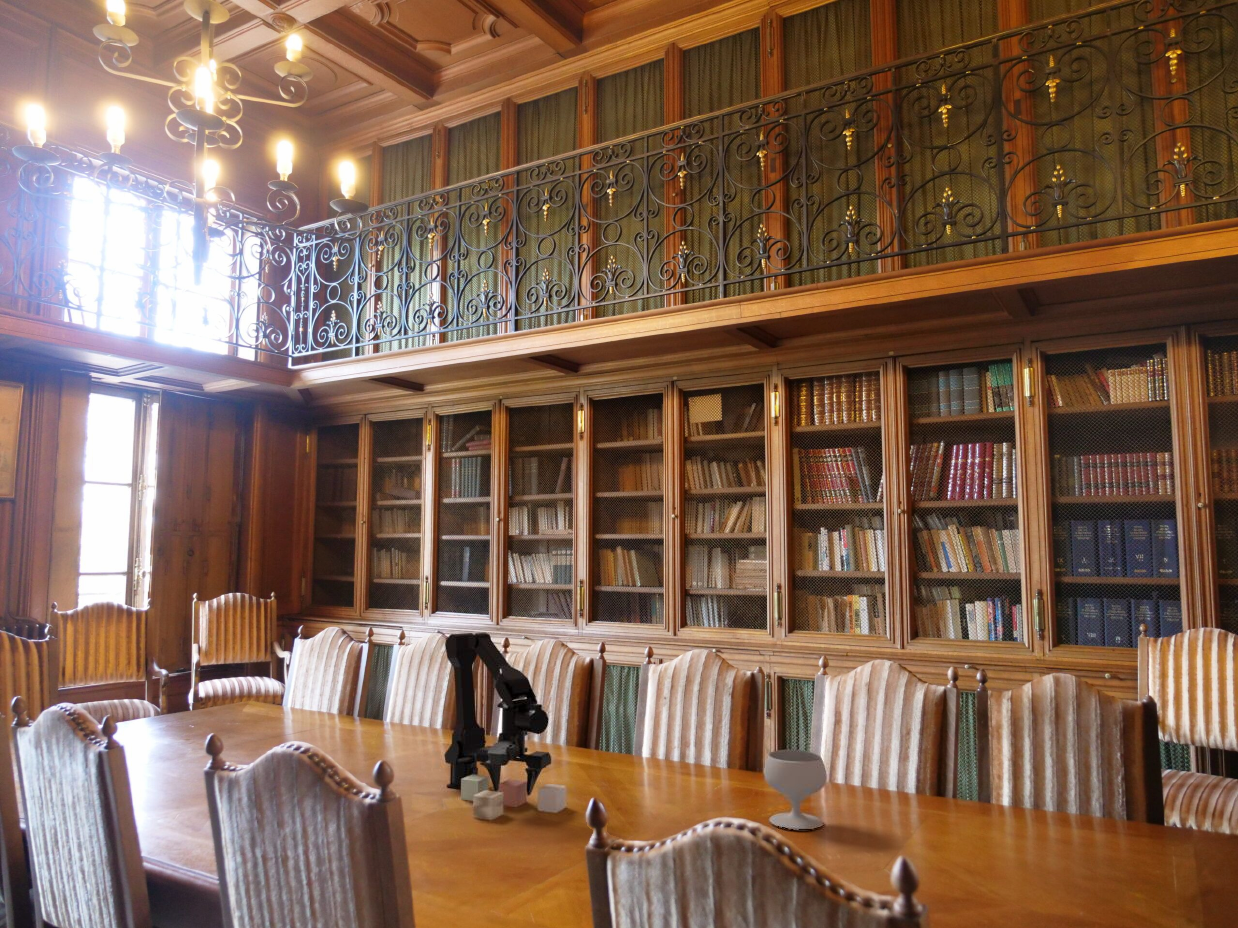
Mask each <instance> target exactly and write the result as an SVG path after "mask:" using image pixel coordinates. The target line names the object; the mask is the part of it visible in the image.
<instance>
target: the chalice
mask: <svg viewBox="0 0 1238 928" xmlns="http://www.w3.org/2000/svg"><path fill="white" fill-rule="evenodd" d="M763 772H764V780H765V782H766V783H767V785H768V786H769V787H770V788H772V789H773V790H775V792H777V793H779V794H780V795H782V796H784V797H785V798H787V800H788V801H789V802H790V805H791V811H790V812H780V813H776V814H774V815H771V817H769V819H768V821H769V823H770V822H771V823H770V824H772V826H775V827H778V826H779V827H778V828H780V829H783V828H782V827H785V828H788V829H787V830H791V829H793V830H792V831H800V830H799V829H810V828H815V827H818V826H821V825H822V824H823V823H824V821H823V820H822V819H821V818H820V817H818V816H815V815H813V814H808V813H804V812H803V813H802V812H801V805H802V803H803V802H804V800H805V799H807V798H808V797H811V796H812V795H814V794H817V793H818V792H820V791H821V790H822V789H823V788H824V786H825V785H826V783H827V777H828V776H827V770H826V767H825V763H824V761H823V759H822V757H821V755H820V754H818V753H816V752H813V751H809V750H803V749H780V750H773V751H771V752H769V754H768V756H767V758H766V761H765V765H764V771H763ZM822 821H823V822H822ZM823 825H824V824H823ZM785 828H784V829H785Z"/></svg>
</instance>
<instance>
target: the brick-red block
mask: <svg viewBox="0 0 1238 928" xmlns="http://www.w3.org/2000/svg"><path fill="white" fill-rule="evenodd" d="M498 792H503V807H511V808H513V807H514V808H517V807H519V806H521V805H524V804H525V803H527V800H528V799H527V797H528V795H527V780H522V779H521V780H520V779H514V778H513V779H512V778H509V779H507V780H505V781H502V782H500V784H499V790H498Z"/></svg>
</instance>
